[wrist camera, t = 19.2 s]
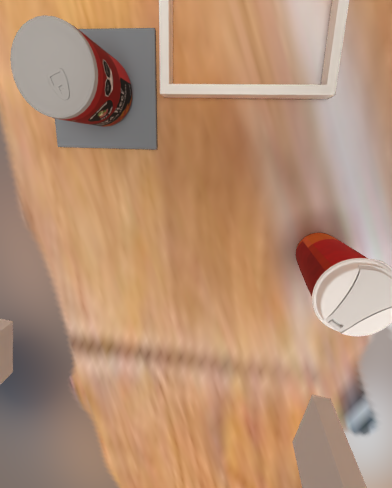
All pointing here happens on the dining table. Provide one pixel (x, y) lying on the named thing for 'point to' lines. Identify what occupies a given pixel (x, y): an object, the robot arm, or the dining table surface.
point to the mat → (143, 94)
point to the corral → (253, 90)
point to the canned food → (68, 74)
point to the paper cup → (345, 285)
